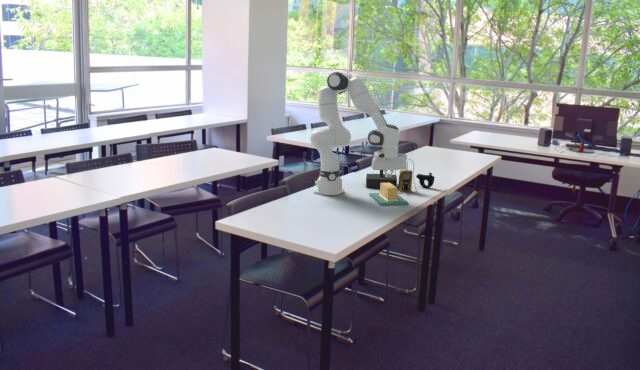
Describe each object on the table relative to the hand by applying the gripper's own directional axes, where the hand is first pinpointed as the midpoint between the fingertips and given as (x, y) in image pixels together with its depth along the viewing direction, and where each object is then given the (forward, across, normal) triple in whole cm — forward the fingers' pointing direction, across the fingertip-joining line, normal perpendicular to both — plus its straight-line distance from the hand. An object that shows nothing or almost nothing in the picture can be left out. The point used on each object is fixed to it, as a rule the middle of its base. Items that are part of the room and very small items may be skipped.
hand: (388, 177), depth 329 cm
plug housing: (+12, -1, +1) cm, 12 cm away
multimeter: (+14, -18, -14) cm, 26 cm away
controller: (+14, -34, -25) cm, 44 cm away
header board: (+14, -1, +1) cm, 14 cm away
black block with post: (+15, -7, -33) cm, 37 cm away
